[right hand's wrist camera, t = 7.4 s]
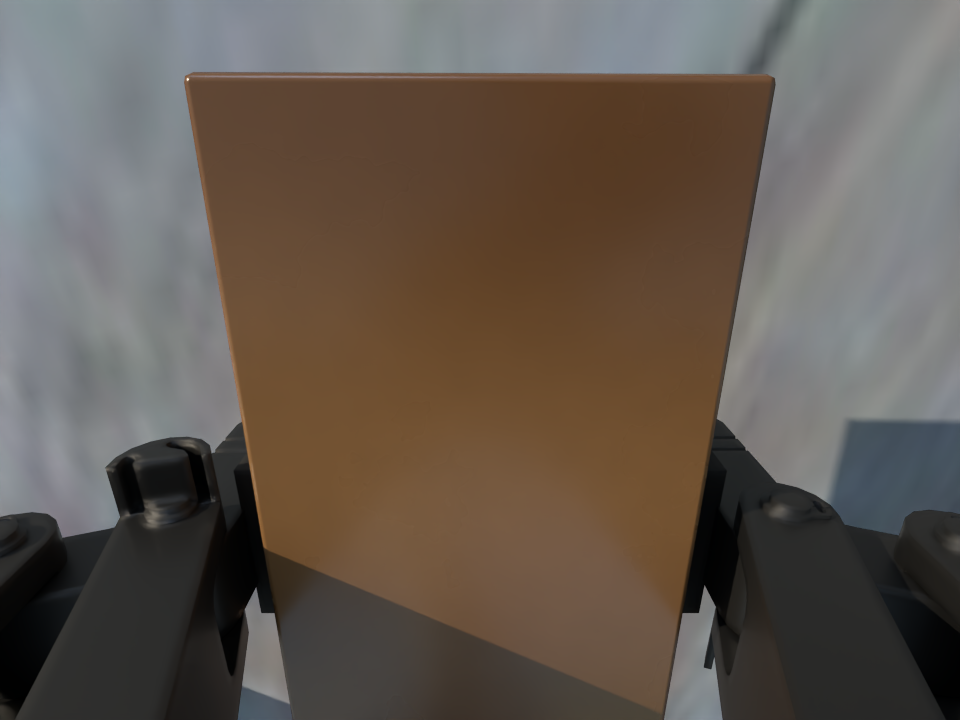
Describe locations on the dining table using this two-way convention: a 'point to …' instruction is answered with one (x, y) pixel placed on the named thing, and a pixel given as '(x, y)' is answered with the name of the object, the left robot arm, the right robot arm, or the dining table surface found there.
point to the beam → (479, 371)
